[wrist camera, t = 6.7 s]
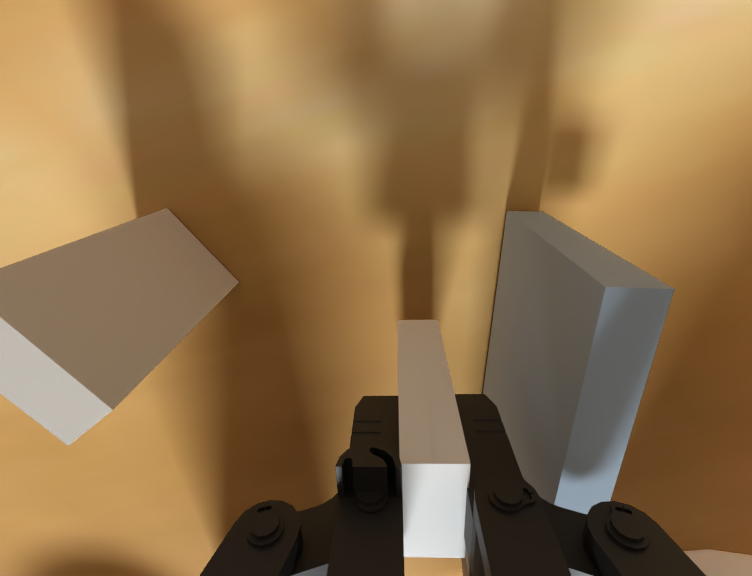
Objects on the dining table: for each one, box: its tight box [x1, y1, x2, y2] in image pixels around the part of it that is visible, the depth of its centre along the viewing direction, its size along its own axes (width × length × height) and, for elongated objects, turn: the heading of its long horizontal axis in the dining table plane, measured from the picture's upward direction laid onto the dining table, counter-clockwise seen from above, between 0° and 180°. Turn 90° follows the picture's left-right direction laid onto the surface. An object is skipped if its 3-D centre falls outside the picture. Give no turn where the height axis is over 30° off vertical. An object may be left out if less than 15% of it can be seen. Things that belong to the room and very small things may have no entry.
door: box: [461, 211, 674, 576], centre depth 14 cm, size 17×3×7 cm, turn 179°
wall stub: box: [0, 208, 239, 446], centre depth 12 cm, size 4×2×8 cm, turn 39°
